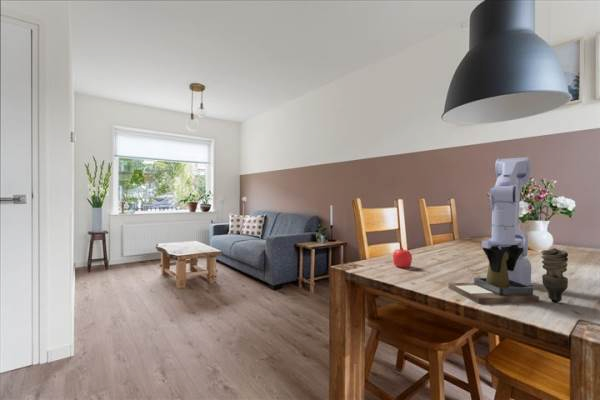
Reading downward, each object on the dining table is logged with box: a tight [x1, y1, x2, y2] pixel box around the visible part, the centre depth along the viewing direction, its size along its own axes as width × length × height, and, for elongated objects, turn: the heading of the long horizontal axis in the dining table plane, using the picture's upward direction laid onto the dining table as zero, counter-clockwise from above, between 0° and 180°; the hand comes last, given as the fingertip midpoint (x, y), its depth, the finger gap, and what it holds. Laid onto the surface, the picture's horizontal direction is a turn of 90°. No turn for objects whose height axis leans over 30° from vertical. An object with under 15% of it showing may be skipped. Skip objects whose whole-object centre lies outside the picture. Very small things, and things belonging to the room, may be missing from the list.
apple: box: [392, 247, 413, 269], centre depth 115 cm, size 8×8×8 cm
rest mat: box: [456, 285, 494, 294], centre depth 82 cm, size 7×7×1 cm
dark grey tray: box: [473, 277, 534, 296], centre depth 83 cm, size 10×10×2 cm
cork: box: [485, 249, 510, 288], centre depth 84 cm, size 6×6×11 cm
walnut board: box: [447, 282, 540, 305], centre depth 82 cm, size 18×13×2 cm
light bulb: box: [540, 247, 569, 304], centre depth 77 cm, size 6×6×15 cm
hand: (502, 271), depth 83 cm, fingers closed on cork, 5 cm apart
